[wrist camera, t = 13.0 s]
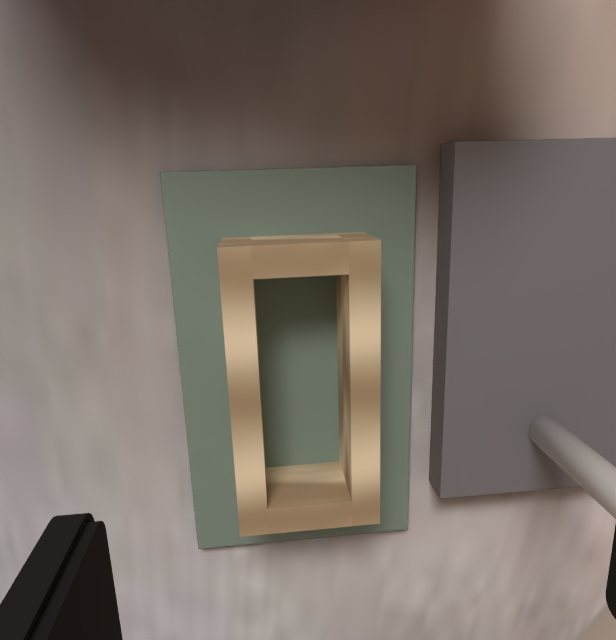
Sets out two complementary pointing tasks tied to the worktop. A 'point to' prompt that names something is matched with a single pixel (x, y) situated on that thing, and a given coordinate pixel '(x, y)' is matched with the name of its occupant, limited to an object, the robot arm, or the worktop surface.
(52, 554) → the robot arm
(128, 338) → the worktop surface
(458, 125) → the worktop surface
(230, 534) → the rubber mat
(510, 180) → the post stand
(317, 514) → the beech link
